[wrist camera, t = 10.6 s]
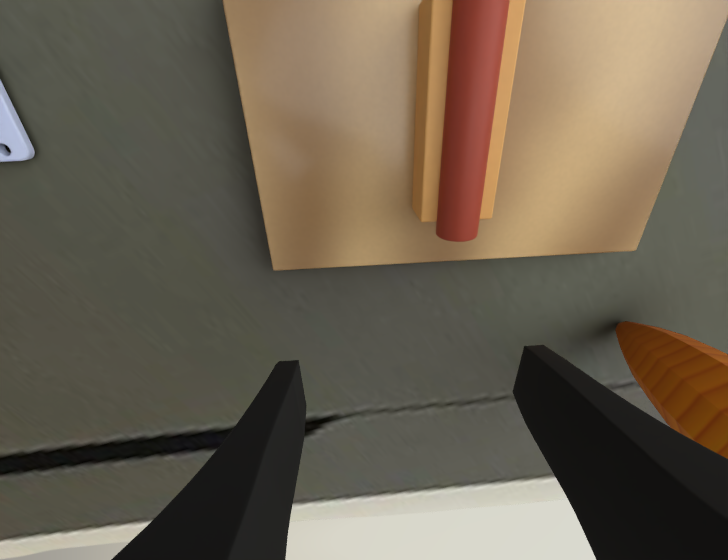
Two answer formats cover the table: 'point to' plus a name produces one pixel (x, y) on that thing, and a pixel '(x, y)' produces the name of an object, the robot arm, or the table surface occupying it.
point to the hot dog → (462, 109)
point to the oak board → (522, 136)
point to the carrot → (680, 381)
